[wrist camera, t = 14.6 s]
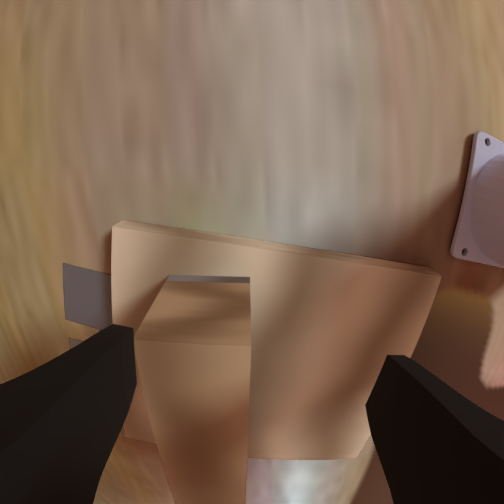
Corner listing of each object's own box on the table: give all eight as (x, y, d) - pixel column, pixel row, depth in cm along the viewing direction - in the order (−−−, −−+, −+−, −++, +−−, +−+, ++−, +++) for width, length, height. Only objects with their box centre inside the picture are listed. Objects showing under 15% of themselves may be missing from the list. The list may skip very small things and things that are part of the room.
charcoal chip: (123, 273, 18) (120, 277, 17) (121, 329, 19) (118, 334, 19) (67, 260, 18) (62, 263, 17) (69, 314, 19) (65, 319, 18)
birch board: (429, 267, 18) (441, 276, 16) (351, 445, 22) (355, 458, 21) (122, 220, 16) (112, 226, 15) (129, 423, 21) (124, 437, 20)
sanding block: (249, 276, 16) (251, 345, 10) (245, 436, 20) (245, 508, 14) (169, 274, 16) (132, 339, 10) (187, 433, 19) (175, 503, 14)
